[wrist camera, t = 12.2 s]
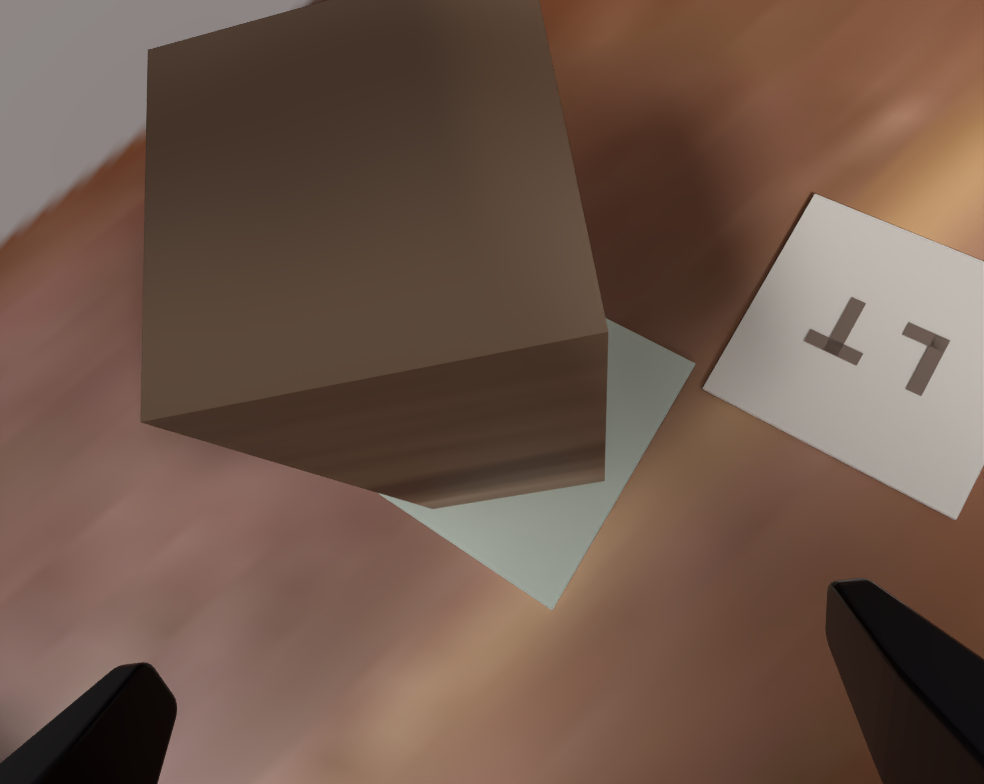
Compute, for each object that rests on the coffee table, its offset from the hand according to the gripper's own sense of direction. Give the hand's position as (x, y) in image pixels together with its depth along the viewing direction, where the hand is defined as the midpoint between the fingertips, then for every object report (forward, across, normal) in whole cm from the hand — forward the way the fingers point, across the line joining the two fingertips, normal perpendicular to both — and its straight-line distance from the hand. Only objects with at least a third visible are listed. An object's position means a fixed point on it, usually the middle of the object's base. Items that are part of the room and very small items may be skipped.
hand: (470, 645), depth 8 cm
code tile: (+11, -10, +3) cm, 15 cm away
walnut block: (+10, 0, +2) cm, 11 cm away
